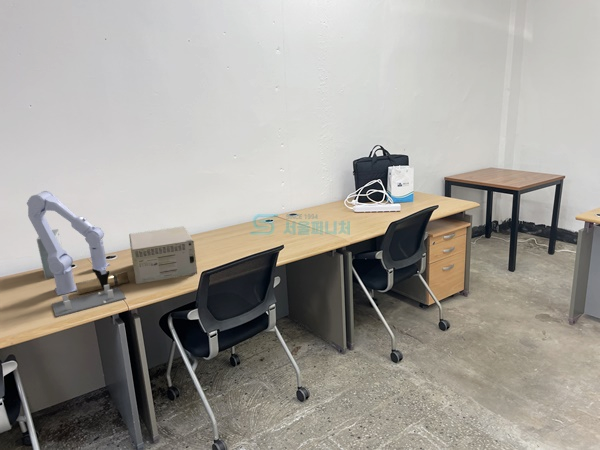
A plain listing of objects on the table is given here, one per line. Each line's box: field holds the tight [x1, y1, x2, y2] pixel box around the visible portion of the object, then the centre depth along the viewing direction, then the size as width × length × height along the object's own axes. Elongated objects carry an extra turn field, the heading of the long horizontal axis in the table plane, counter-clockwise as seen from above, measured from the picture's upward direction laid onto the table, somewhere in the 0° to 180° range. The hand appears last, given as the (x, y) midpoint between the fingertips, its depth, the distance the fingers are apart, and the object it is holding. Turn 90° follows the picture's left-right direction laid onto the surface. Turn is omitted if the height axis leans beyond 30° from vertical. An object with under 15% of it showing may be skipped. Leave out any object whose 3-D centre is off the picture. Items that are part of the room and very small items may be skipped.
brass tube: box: [75, 271, 130, 295], centre depth 197 cm, size 5×21×5 cm, turn 124°
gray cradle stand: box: [51, 284, 127, 318], centre depth 184 cm, size 14×26×4 cm, turn 124°
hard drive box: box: [36, 228, 63, 279], centre depth 218 cm, size 16×8×20 cm, turn 21°
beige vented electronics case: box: [128, 225, 198, 285], centre depth 216 cm, size 27×29×16 cm
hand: (103, 285), depth 198 cm, fingers closed on brass tube, 5 cm apart
